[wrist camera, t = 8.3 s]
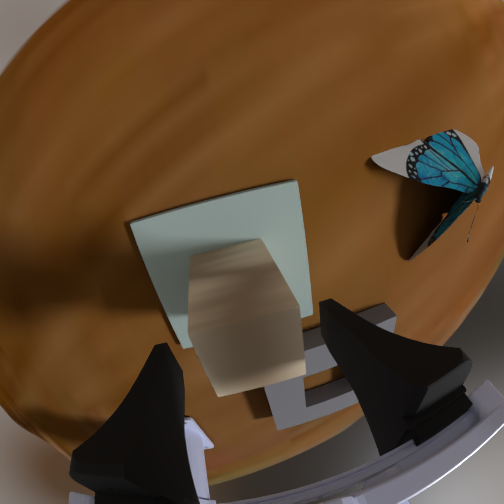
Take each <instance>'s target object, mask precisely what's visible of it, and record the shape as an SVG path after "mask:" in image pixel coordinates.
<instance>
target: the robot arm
mask: <svg viewBox="0 0 504 504" xmlns="http://www.w3.org/2000/svg"><path fill="white" fill-rule="evenodd" d="M319 308H320V324H321V335H322V337H323V339H324V342H325V344H326V346H327V348H328V350H329V352H330V354H331V355H332V357H333V358H334V360H335V362H336V363H337V365H338V366H339V368H340V369H341V371H342V373H343V374H344V376H345V377H346V379H347V380H348V382H349V384H350V385H351V387H352V389H353V391H354V393H355V395H356V397H357V399H358V401H359V403H360V406H361V408H362V410H363V412H364V415H365V417H366V419H367V422H368V424H369V427H370V429H371V432H372V434H373V437H374V440H375V443H376V445H377V448H378V451H379V454H380V457H378V458H376V459H374V460H372V461H370V462H368V463H365V464H363V465H361V466H359V467H356V468H354V469H352V470H349V471H347V472H344V473H342V474H339V475H336V476H334V477H331V478H328V479H326V480H322V481H320V482H317V483H313V484H310V485H307V486H304V487H300V488H297V489H293V490H289V491H286V492H282V493H278V494H273V495H269V496H264V497H259V498H254V499H248V500H242V501H235V502H229V503H220V504H305V503H308V502H311V501H315V500H317V499H321V498H324V497H327V496H329V495H332V494H335V493H338V492H340V491H343V490H346V489H348V488H351V487H353V486H356V485H358V484H360V483H362V482H364V484H363V486H364V487H363V488H362V489H361V490H358V491H356V492H353V493H350V494H347V495H345V496H341V497H338V498H335V499H332V500H329V501H326V502H322V503H320V504H409V502H408V499H410V498H412V497H413V496H415V495H417V494H418V493H420V492H421V491H423V490H425V489H426V488H428V487H429V486H431V485H433V484H434V483H436V482H437V481H438V480H440V479H441V478H443V477H444V476H445V475H447V474H448V473H450V472H451V471H452V470H454V469H455V468H456V467H458V466H459V465H460V464H461V463H463V462H464V461H465V460H466V459H468V458H469V457H470V456H471V455H472V454H474V453H475V452H476V451H477V450H478V449H479V448H480V447H481V446H482V445H484V444H485V443H486V442H487V441H488V440H489V439H490V438H491V437H492V436H493V435H494V434H495V433H496V432H497V431H498V430H499V429H500V428H501V427H502V426H503V425H504V398H503V396H502V395H501V394H500V393H499V392H498V391H497V389H496V388H495V387H494V386H493V385H492V384H491V382H490V381H489V380H486V381H485V382H483V383H482V384H481V385H480V386H479V387H478V388H476V389H475V390H474V391H473V392H472V393H471V394H470V395H469V396H468V397H467V396H466V394H465V392H466V388H465V387H464V386H463V383H464V381H465V380H466V378H467V376H468V374H469V372H470V370H471V368H472V360H471V359H470V358H469V357H468V356H467V355H466V354H465V353H464V352H463V351H462V350H461V349H460V348H453V347H444V346H437V345H432V344H427V343H422V342H418V341H415V340H412V339H408V338H405V337H402V336H399V335H397V334H394V333H392V332H389V331H387V330H385V329H383V328H381V327H379V326H377V325H375V324H373V323H371V322H369V321H367V320H365V319H364V318H362V317H360V316H358V315H357V314H355V313H353V312H352V311H350V310H349V309H347V308H345V307H344V306H342V305H341V304H339V303H338V302H336V301H335V300H333V299H328V300H325V301H321V302H319ZM213 447H214V444H213V443H212V442H211V441H210V439H209V438H208V437H207V436H206V435H205V433H204V432H203V431H202V430H201V428H200V427H199V426H198V425H197V423H196V422H195V421H194V420H193V419H192V418H190V417H187V418H185V388H184V379H183V371H182V369H181V367H180V366H179V364H178V362H177V360H176V358H175V357H174V355H173V353H172V351H171V349H170V348H169V346H168V344H167V343H162V344H157V345H155V346H154V348H153V349H152V351H151V353H150V355H149V357H148V359H147V361H146V363H145V365H144V366H143V368H142V370H141V372H140V374H139V376H138V378H137V379H136V381H135V383H134V384H133V386H132V388H131V389H130V391H129V393H128V394H127V396H126V397H125V399H124V400H123V402H122V403H121V404H120V406H119V407H118V408H117V410H116V411H115V412H114V413H113V415H112V416H111V417H110V418H109V419H108V420H107V421H106V423H105V424H104V425H103V426H102V427H101V428H100V429H99V430H98V431H97V432H96V433H95V434H94V435H92V436H91V437H90V438H89V439H88V440H87V441H85V442H84V443H83V444H82V445H80V446H79V447H78V448H76V449H75V450H73V453H72V458H71V465H70V471H69V474H70V476H71V478H72V479H74V480H75V481H76V482H78V483H80V484H81V485H83V486H85V487H87V488H89V489H91V490H92V491H94V492H95V497H93V496H90V495H86V494H81V493H76V492H70V497H69V504H216V501H215V500H210V496H209V490H208V482H207V474H206V466H205V457H204V449H209V448H213ZM369 479H370V480H369ZM367 480H368V481H367ZM365 481H366V482H365Z"/></svg>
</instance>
